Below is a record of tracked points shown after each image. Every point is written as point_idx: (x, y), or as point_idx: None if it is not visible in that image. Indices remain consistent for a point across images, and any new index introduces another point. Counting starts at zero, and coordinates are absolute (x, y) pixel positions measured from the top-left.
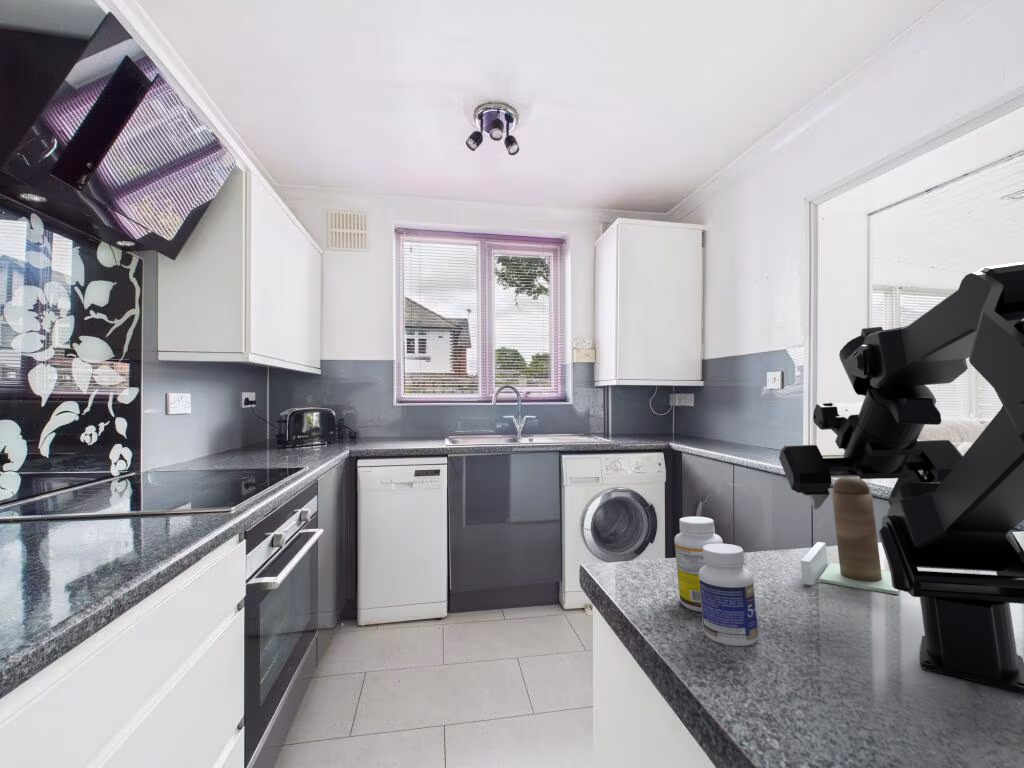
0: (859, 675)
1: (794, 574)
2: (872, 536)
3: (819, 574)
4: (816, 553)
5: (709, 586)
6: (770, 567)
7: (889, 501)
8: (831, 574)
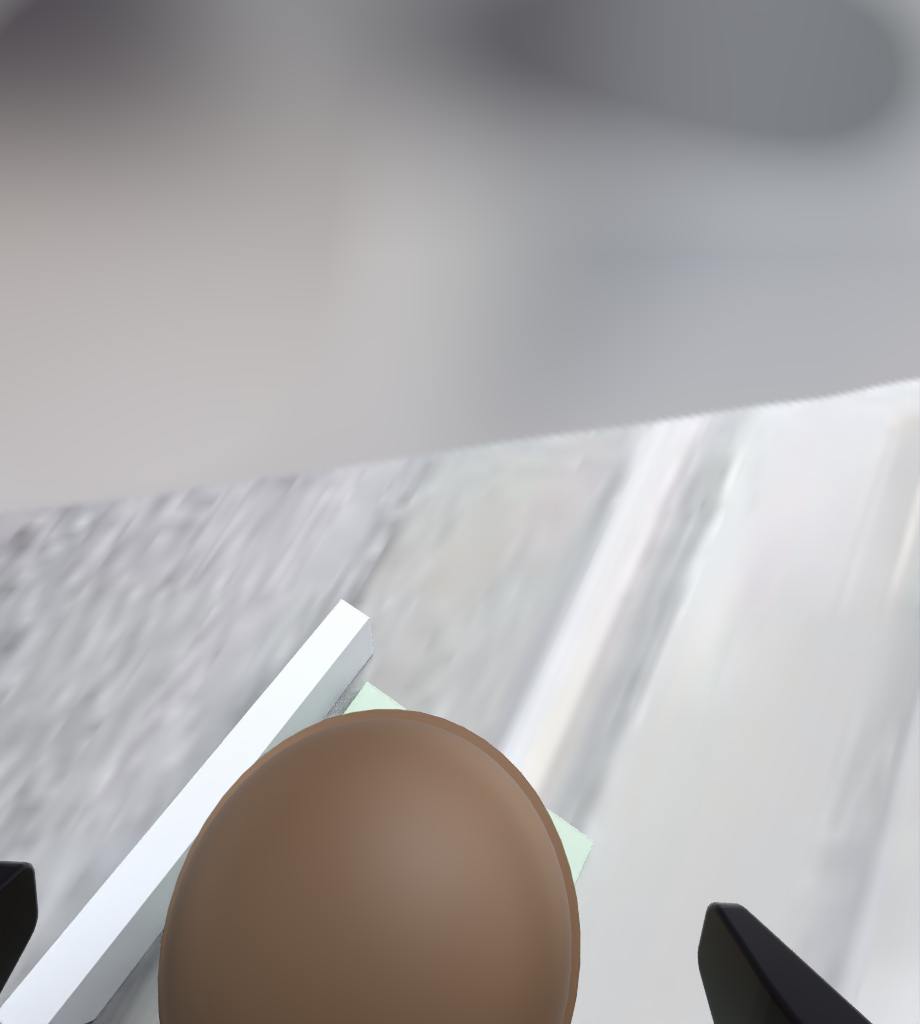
0: None
1: (132, 812)
2: None
3: None
4: (196, 835)
5: None
6: (93, 699)
7: (717, 937)
8: None
